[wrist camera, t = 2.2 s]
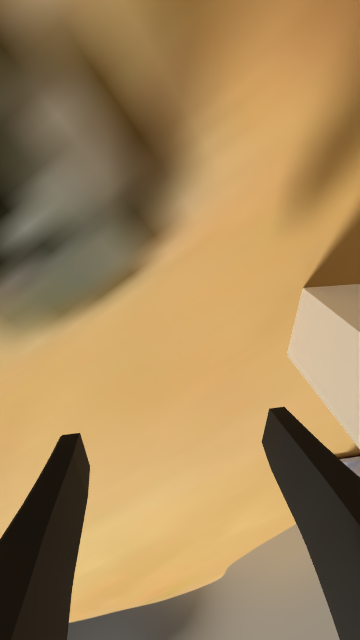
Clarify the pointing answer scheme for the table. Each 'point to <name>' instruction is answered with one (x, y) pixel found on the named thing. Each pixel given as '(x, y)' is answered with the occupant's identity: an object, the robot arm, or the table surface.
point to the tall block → (331, 350)
